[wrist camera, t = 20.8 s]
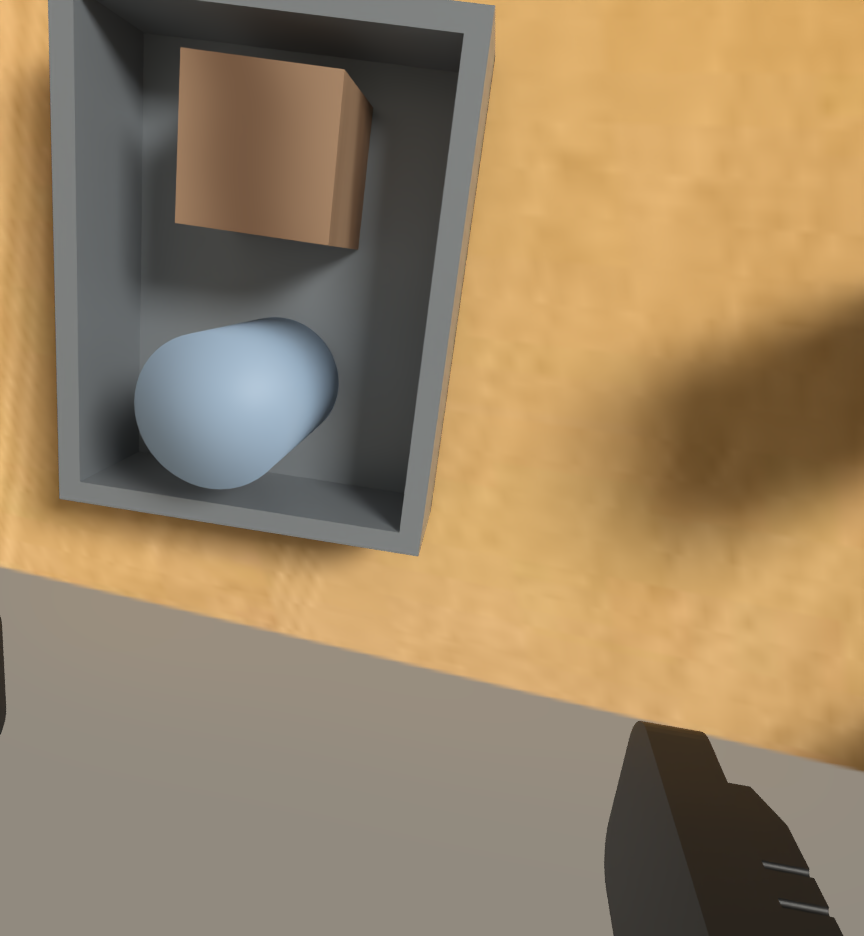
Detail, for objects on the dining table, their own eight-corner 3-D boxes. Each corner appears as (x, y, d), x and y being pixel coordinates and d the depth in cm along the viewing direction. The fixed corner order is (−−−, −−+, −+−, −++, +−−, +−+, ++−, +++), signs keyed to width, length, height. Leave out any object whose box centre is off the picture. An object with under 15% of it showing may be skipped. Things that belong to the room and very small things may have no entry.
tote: (495, 56, 25) (495, 5, 20) (430, 510, 30) (418, 556, 25) (131, 11, 26) (47, -50, 21) (127, 462, 31) (59, 498, 26)
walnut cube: (373, 107, 25) (344, 69, 20) (358, 249, 27) (328, 245, 22) (239, 89, 25) (180, 47, 21) (232, 231, 27) (175, 222, 22)
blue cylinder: (343, 324, 27) (293, 342, 21) (334, 445, 29) (285, 498, 22) (220, 310, 28) (132, 322, 21) (218, 430, 29) (135, 478, 22)
